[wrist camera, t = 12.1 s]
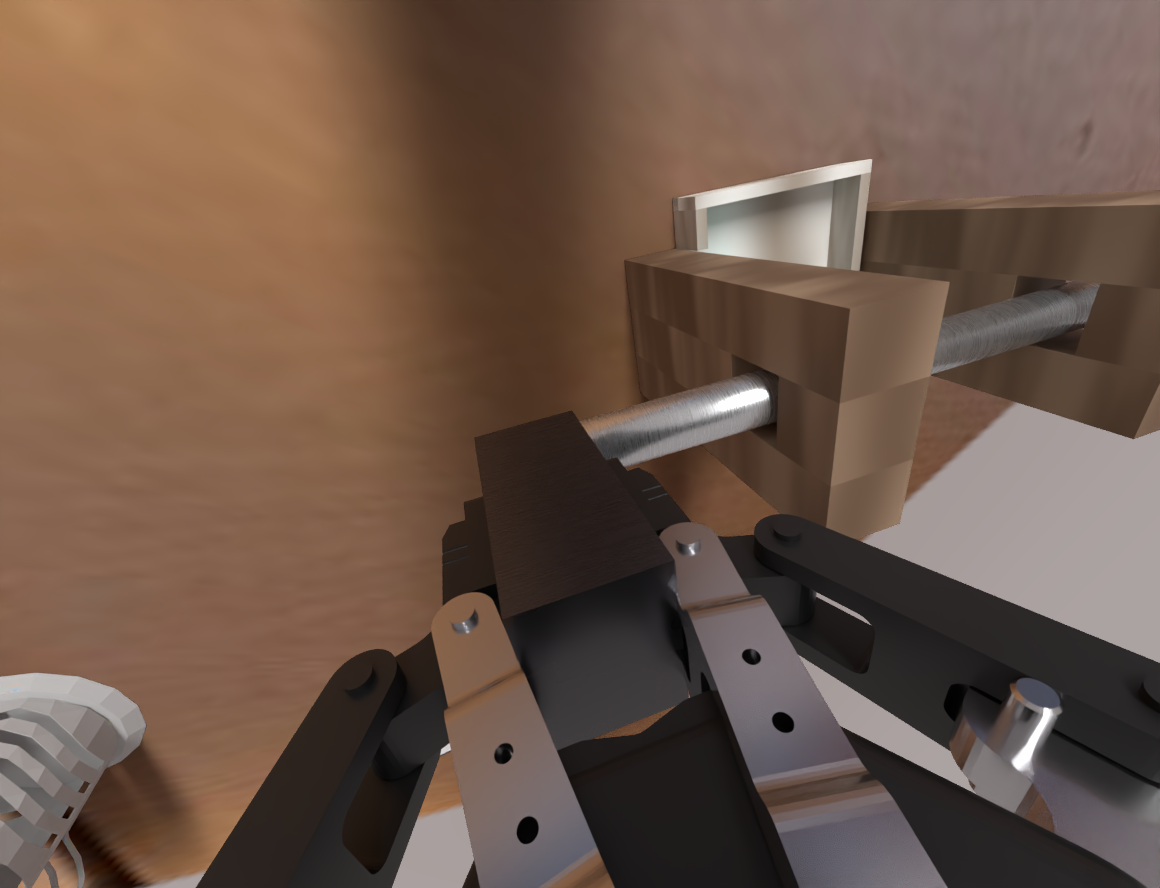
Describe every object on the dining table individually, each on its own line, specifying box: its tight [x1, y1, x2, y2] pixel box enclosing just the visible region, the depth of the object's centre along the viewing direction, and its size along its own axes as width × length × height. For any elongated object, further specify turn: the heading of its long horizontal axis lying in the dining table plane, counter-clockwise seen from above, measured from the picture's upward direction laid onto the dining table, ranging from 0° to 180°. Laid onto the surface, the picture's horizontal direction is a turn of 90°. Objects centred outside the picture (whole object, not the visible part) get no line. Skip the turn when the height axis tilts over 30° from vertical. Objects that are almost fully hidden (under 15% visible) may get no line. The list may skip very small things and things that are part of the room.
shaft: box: [474, 281, 1100, 750], centre depth 14 cm, size 26×4×9 cm, turn 100°
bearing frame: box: [625, 159, 1160, 539], centre depth 21 cm, size 16×13×16 cm
